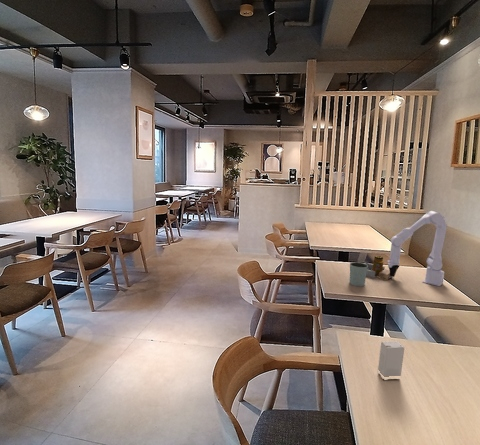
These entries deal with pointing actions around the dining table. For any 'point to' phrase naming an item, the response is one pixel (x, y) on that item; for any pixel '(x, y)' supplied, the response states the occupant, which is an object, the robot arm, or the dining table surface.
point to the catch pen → (371, 273)
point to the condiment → (377, 265)
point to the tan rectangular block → (385, 274)
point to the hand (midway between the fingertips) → (392, 276)
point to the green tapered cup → (358, 273)
